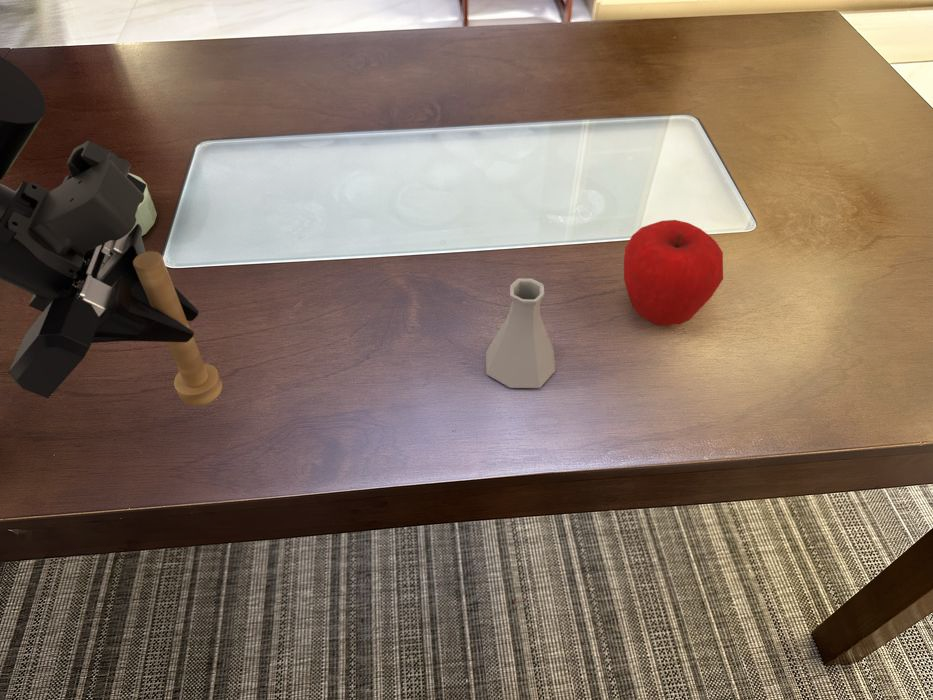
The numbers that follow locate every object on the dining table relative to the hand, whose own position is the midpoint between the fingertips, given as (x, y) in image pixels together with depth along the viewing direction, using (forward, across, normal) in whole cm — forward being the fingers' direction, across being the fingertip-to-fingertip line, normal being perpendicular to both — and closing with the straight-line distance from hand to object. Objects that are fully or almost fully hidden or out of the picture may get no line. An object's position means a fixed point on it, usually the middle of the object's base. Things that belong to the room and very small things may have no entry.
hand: (193, 327), depth 56 cm
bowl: (-3, +32, +23) cm, 39 cm away
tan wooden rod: (+4, 0, +6) cm, 8 cm away
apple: (+40, +12, -21) cm, 47 cm away
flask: (+29, +6, -10) cm, 31 cm away
